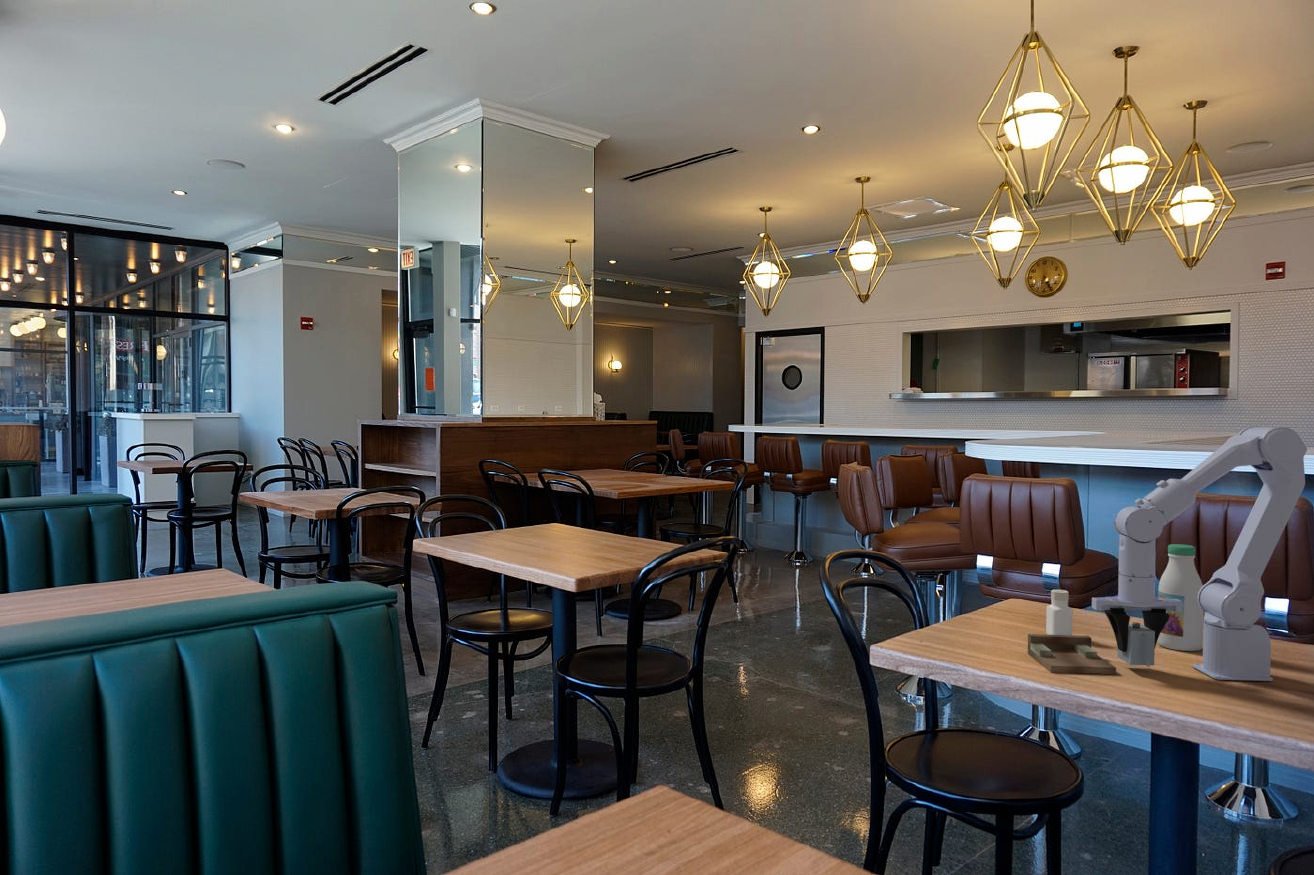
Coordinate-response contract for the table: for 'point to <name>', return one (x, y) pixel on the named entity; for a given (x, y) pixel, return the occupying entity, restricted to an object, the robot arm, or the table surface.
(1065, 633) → the pepper shaker
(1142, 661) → the grey knobbed box
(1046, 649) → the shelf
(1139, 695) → the table surface
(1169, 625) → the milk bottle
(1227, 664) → the robot arm
